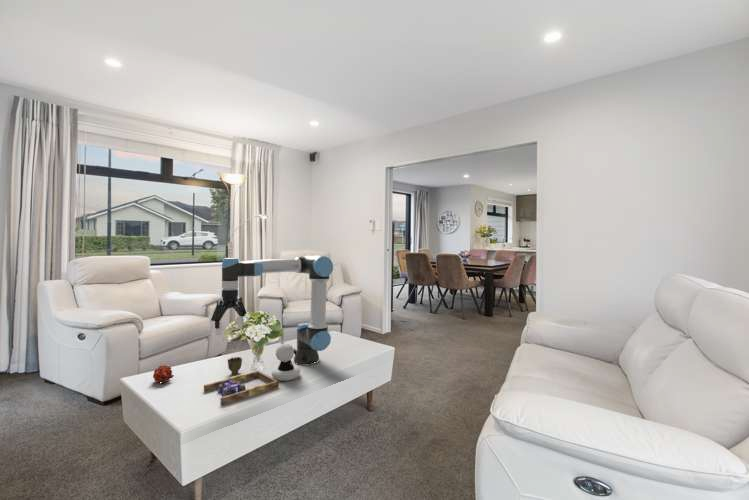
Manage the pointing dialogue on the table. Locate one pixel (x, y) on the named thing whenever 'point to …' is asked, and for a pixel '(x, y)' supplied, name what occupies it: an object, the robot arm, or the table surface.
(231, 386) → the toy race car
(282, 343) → the decorative figurine
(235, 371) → the cup
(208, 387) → the wooden tray
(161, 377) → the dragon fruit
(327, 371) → the table surface
